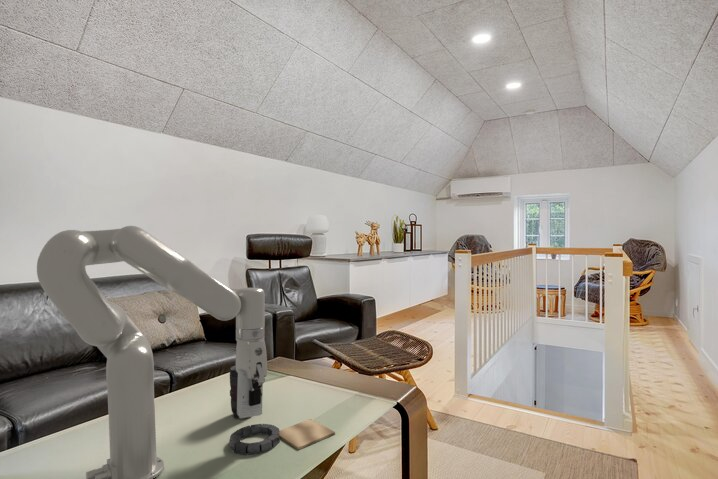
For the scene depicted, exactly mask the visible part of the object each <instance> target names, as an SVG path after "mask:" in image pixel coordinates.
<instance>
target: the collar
mask: <svg viewBox="0 0 718 479" xmlns="http://www.w3.org/2000/svg"><path fill="white" fill-rule="evenodd" d="M255 435H266V436H268V438H266V439H263V440H261V441H256V442H243V441H242V440H244V438H248V437H250V436H255ZM280 439H281V438H280V428H279V427H277V426H275V425H273V424H269V423H257V424H256V423H255V424H251V425H246V426H243V427H241V428H238V429H237V430H235V431H234V432H233V433H231V435H230V437H229V440H228V442H229V443H228V444H229V445H228V446H229V449H230V450H231V451H232V452H233V453H234V454H236V455H237V454H238V455H242V456H251V455H252V456H253V455H260V454H263V453H265V452H268V451H270V450H272V449H274V448H275V447H276V446H278V444H280V441H281V440H280Z"/></svg>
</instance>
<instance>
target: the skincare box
mask: <svg viewBox="0 0 718 479" xmlns="http://www.w3.org/2000/svg"><path fill="white" fill-rule="evenodd" d="M255 377H257V375H254V378H255ZM253 382H254V384H255V382H257V380H253ZM263 386H264V385H262V389H261V403H260V404H258V405H254V406H249V391H250V381H249V379H248V378H246V377H245V372H244V371H242V370H240V369H239V368H238V384H237V414H238V416H239V418H245V419H247V418H246V417H249V418H251V417H258V416H261V415H263V391H264V390H263V388H264V387H263Z"/></svg>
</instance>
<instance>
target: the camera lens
mask: <svg viewBox="0 0 718 479" xmlns="http://www.w3.org/2000/svg"><path fill="white" fill-rule="evenodd" d="M237 384H238V373H237V371H236V364H235V365H233V366H231V367H230V372H229V386H230V389H229V396H230V408H231V413H232V414H233V415H232V416H233V418H235V419H237V420H244V419H245V420H246V419H249V418H250V417H246V418H239V416H238V414H237Z"/></svg>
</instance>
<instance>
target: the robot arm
mask: <svg viewBox="0 0 718 479" xmlns="http://www.w3.org/2000/svg"><path fill="white" fill-rule="evenodd" d="M122 262H124V263H126V264H128V265H129V266H130V267H132V268H134V269H135V270H137V271H139V272H140V273H142V274H144V275H145V276H147V277H148V278H150V279H152V280H153V281H155V282H156V283H157V284H159V285H161V286H162V287H164V288H165V289H167V290H169V291H170V292H172V293H173V294H174V293H175V294H177V295H179V296H180V297H182V298H184V299H185V300H187V301H188V302H190V303H192V304H193V305H195V306H197V307H198V309H199V308H200V309H201V310H202V311H204V312H206V313H207V314H209V315H210V316H212V317H214V318H215V319H216V320H220V321H229V320H232V319H235V341H236V348H235V365H236V371H237V373H238V368H239V369H240V370H242V371H244V372H245V377H246V378H248V379H249V381H250V391H249V406H254V405H258V404H260V403H261V389H262V385H263V384H264V383H265V382H266V377H267V375H268V358H267V357H268V355H267V348H266V342H265V337H266V336H265V334H266V333H265V331H266V330H265V321H266V320H265V318H266V317H265V316H266V315H265V314H266V313H265V312H266V305H265V303H266V300H265V299H266V295H265V290H264V289H263V288H260V287H243V288H228V287H227V286H226V285H224V284H223V283H221V282H220V281H218V280H217V279H215V278H214V277H212V276H211V275H210V274H208V273H206V272H205V271H204V270H202V269H201V268H199V267H198V266H197V265H195V264H194V263H193V262H192V261H191V260H189V259H187V258H186V257H184V256H183V255H181V254H180V253H178V252H177V251H176V250H174V249H173V248H172V247H170V246H168V245H167V244H165V243H164V242H162V241H161V240H159V239H158V238H156V236H154V235H152V234H151V233H149V232H148V231H146V230H144V228H141V227H139V226H136V225H127V226H124V227H121V228H115V229H114V228H113V229H103V230H101V229H100V230H84V231H83V230H82V231H81V230H78V229H67V230H63V231H60V232H58V233H56V234H54V235H53V236H51V237H50V238H49V239H48V241H46V243H45V244H44V246H43V247H42V249H41V251H40V253H39V256H38V258H37V263H36V275H37V279H38V282H39V285H40V286H41V288H42V290H43V292H44V293H45V294H46V295H47V297H48V299H49V300H50V301H51V302H52V303H53V305H54V306H55V307H56V308H57V309H58V311H59V312H60V313H61V315H62V316H63V317H64V318H65V319H66V321H67V322H68V323H69V324H70V326H71V327H72V328H73V329H74V331H75V332H76V333H77V335H78V336H79V337H80V339H81V340H82V341H83V342H85V343H86V344H88V345H90V346H93V347H97V349H98V350H99V351H100V353H102V354H103V356H104V357H105V358H106V365H105V366H106V367H105V377H106V391H107V410H108V411H107V412H108V413H107V414H108V430H109V431H108V435H109V458H107V459H106V463H105V464H102V466H101V467H98V468H94V469H91V470H89V471H86V472H85V478H86V479H153V478H155V477H156V478H157V477H159V476H160V474H162V473H163V471H164V468H165V463H164V460H163V459H162V458H160V457H157V435H156V433H157V432H156V431H157V430H156V409H155V408H156V407H155V385H154V384H155V383H154V382H155V377H154V376H155V362H154V354H153V350H152V346H151V343H150V341H149V340H148V339H147V338H146V336H145V335H144V334H143V333H142V331H141V330H140V328H138V326H137V325H136V323H134V321H133V320H132V319H131V318H130V316H129V314H127V313H126V311H125V310H124V309H123V307H121V306H120V305H119V304H118V303H116V302H112V301H109V300H108V299H107V297H106V296H105V295H104V294H103V293H102V291H100V289H99V288H98V286H97V284H96V283H95V282H94V281H93V280H92V279H91V278H90V276H89V274H88V273H87V271H86V267H87V266H95V265H106V264H115V263H122ZM254 375H257V377H255V378H254ZM253 380H257V382H255V384H254V382H253ZM263 386H264V385H263ZM158 475H159V476H158ZM156 478H155V479H156Z"/></svg>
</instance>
